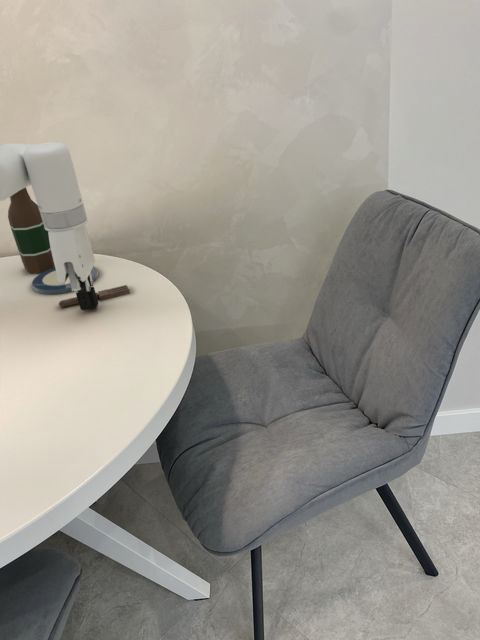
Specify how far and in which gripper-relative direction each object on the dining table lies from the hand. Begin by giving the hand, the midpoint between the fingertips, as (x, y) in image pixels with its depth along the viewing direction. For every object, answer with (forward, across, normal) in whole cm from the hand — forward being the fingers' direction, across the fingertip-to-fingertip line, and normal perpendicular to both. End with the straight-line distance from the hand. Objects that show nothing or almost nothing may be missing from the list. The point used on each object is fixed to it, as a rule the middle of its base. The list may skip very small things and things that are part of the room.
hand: (89, 307), depth 107 cm
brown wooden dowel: (+1, -5, 0) cm, 5 cm away
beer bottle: (+1, -25, -17) cm, 30 cm away
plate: (+1, -16, -9) cm, 18 cm away
